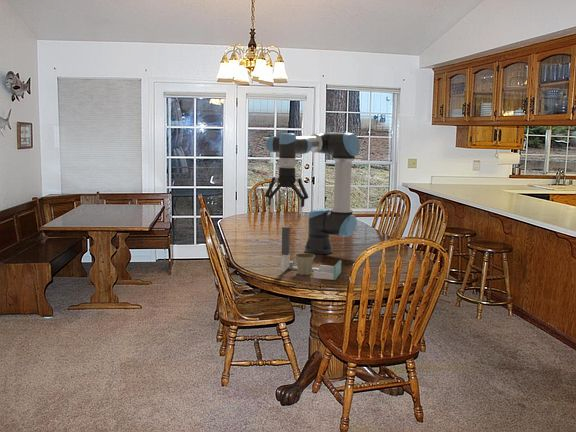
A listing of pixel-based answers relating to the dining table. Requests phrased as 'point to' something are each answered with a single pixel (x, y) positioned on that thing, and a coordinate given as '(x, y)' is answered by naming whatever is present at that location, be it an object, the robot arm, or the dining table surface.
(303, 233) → the dining table surface
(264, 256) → the dining table surface
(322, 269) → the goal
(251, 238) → the dining table surface
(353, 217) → the robot arm
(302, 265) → the flower pot
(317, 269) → the track
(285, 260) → the paddle
